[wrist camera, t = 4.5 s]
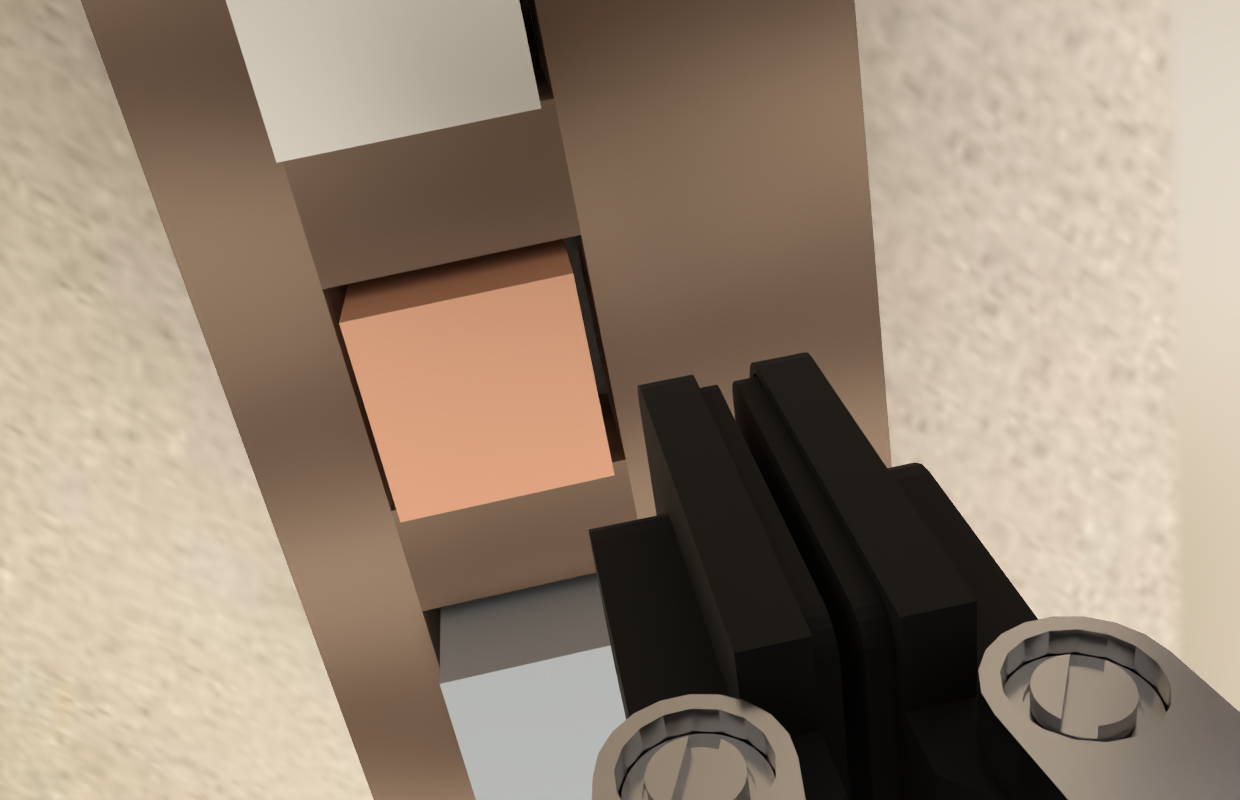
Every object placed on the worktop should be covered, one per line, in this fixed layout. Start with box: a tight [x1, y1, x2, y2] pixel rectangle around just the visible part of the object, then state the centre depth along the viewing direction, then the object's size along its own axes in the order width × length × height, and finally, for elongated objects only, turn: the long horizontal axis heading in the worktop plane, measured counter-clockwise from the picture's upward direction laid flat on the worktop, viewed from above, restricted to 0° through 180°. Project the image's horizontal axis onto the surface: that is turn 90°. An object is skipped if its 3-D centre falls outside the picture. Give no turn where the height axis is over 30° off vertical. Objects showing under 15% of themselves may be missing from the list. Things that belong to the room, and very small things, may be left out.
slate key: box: [440, 573, 626, 800], centre depth 24 cm, size 4×4×4 cm
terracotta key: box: [339, 239, 614, 522], centre depth 22 cm, size 4×4×4 cm
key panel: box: [81, 0, 892, 800], centre depth 22 cm, size 22×12×3 cm, turn 10°
